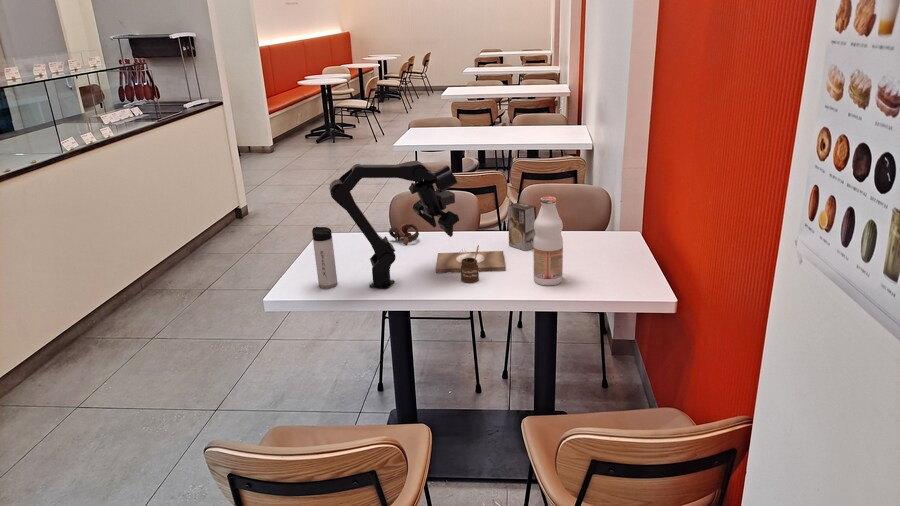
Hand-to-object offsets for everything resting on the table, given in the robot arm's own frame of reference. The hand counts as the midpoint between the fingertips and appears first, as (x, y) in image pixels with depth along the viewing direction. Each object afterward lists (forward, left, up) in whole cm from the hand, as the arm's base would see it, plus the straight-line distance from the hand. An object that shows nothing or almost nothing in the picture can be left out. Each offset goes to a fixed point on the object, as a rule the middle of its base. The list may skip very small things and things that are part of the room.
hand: (443, 231), depth 217 cm
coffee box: (+30, -19, -15) cm, 39 cm away
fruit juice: (0, -36, -15) cm, 39 cm away
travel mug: (-23, +34, -15) cm, 43 cm away
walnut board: (+8, -6, -14) cm, 18 cm away
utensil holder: (-6, -11, -15) cm, 19 cm away
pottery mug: (+25, +28, -15) cm, 40 cm away
